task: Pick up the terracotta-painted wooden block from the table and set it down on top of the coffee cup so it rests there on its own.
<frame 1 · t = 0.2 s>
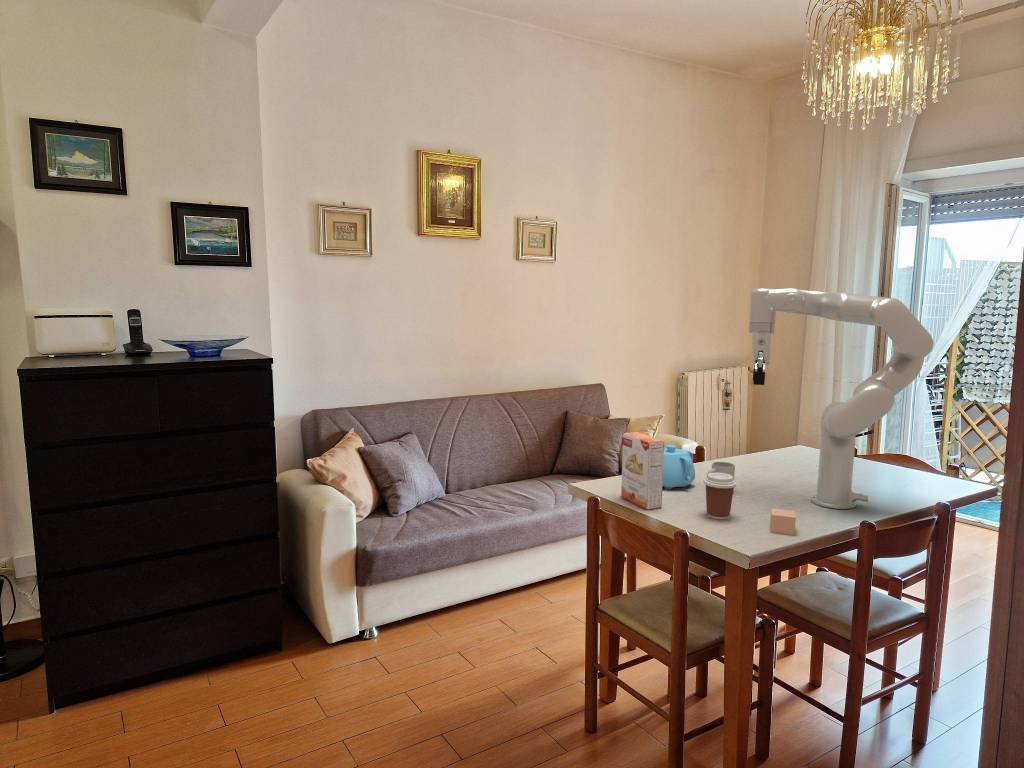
hand: (758, 382, 208), 36 cm above the table, tool pointing down, fingers open, 9 cm apart
cup: (718, 492, 217), on the table
stacking block: (782, 530, 181), on the table
coffee cup: (718, 516, 192), on the table
cracker box: (640, 503, 204), on the table
decorative pot: (669, 485, 224), on the table
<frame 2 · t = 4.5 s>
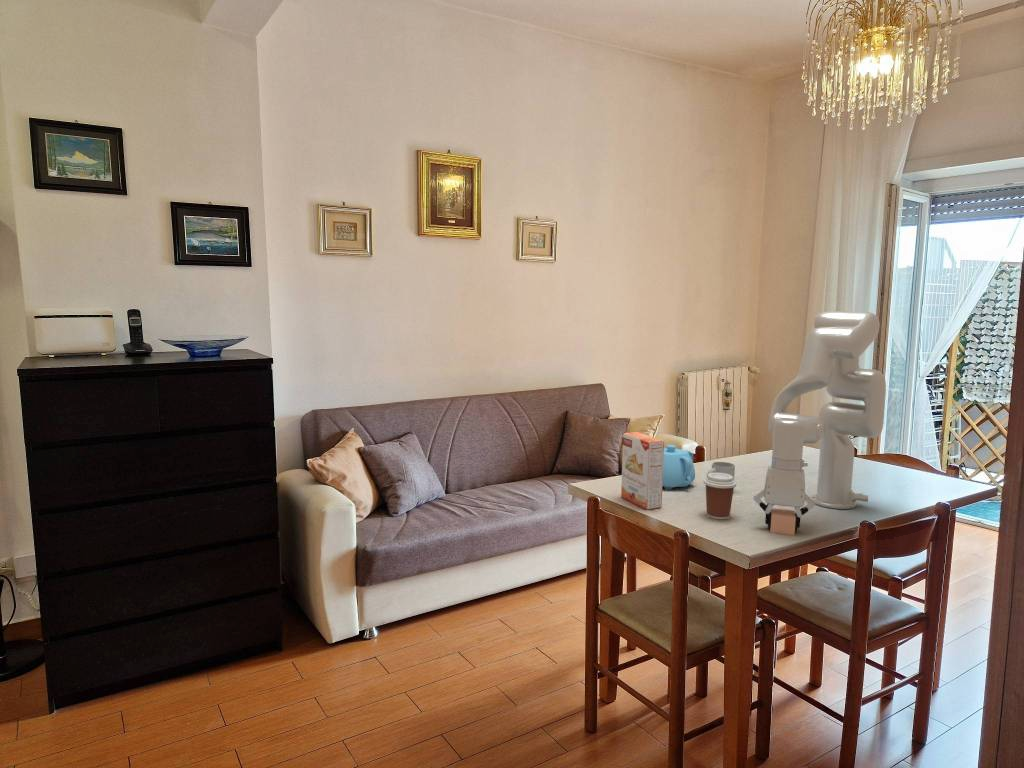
hand: (782, 527, 181), 1 cm above the table, tool pointing down, fingers closed on stacking block, 6 cm apart
stacking block: (781, 530, 181), on the table, touching gripper
everything else where it was.
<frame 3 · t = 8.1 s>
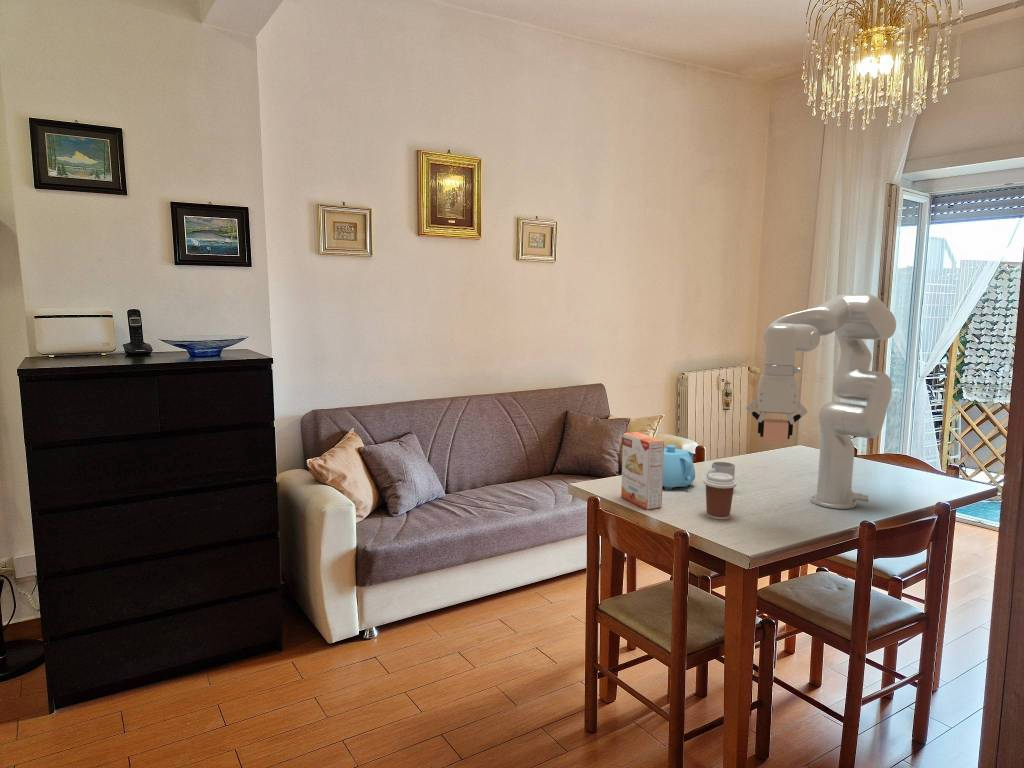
hand: (774, 436, 180), 26 cm above the table, tool pointing down, fingers closed on stacking block, 6 cm apart
stacking block: (774, 439, 180), point 25 cm above the table, touching gripper
everything else where it was.
when the fingers open (14 cm above the table, at t = 12.0 s): stacking block drops 1 cm, resting on coffee cup.
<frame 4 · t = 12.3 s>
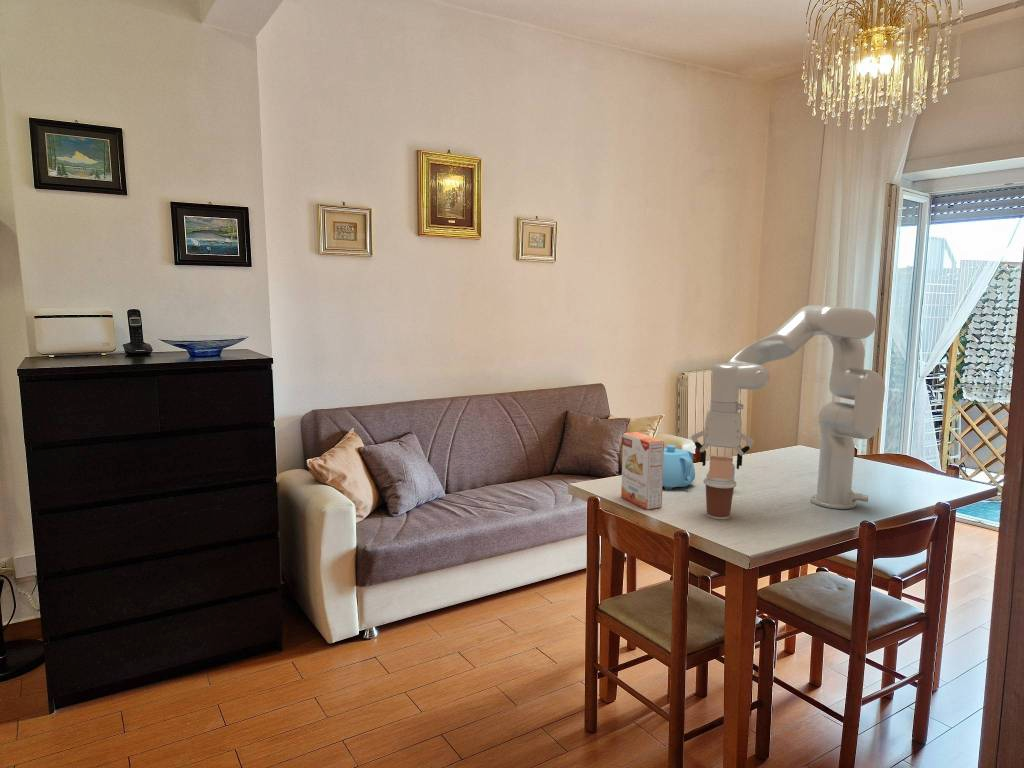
hand: (720, 466, 190), 15 cm above the table, tool pointing down, fingers open, 9 cm apart
stacking block: (720, 475, 191), point 12 cm above the table, touching coffee cup
coffee cup: (718, 516, 192), on the table, touching stacking block
everything else where it was.
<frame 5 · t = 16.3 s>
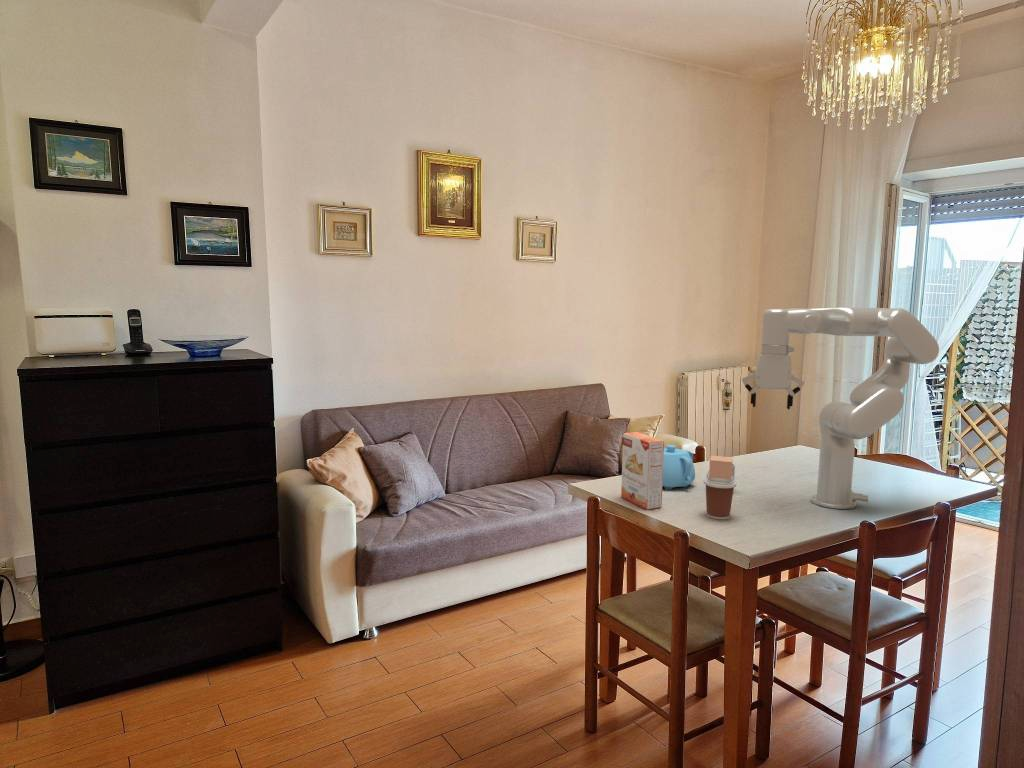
hand: (771, 407, 199), 30 cm above the table, tool pointing down, fingers open, 9 cm apart
nothing on the table moved.
at the end: stacking block inside the target area on the coffee cup (0.1 cm from its centre), point 12.2 cm above the coffee cup's base; stacking block tilted 0°; the gripper is holding nothing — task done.
